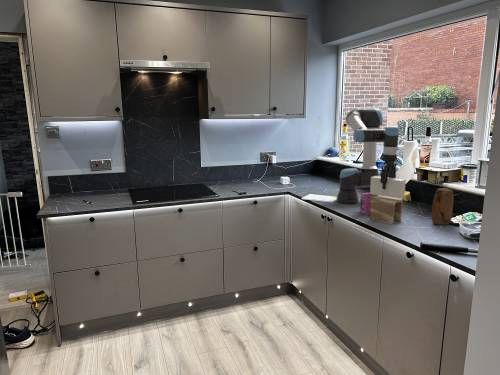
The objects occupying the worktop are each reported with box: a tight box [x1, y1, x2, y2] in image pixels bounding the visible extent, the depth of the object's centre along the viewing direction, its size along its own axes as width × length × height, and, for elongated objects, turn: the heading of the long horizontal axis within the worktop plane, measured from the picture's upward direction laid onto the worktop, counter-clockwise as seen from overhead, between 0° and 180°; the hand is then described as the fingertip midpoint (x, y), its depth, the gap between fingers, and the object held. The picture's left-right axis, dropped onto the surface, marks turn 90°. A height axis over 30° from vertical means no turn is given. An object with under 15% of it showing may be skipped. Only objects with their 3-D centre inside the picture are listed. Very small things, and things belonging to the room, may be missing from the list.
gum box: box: [359, 190, 378, 216], centre depth 236 cm, size 24×8×14 cm, turn 102°
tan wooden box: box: [369, 195, 404, 225], centre depth 219 cm, size 10×14×13 cm
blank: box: [369, 175, 407, 199], centre depth 217 cm, size 6×18×10 cm, turn 46°
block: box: [431, 187, 454, 226], centre depth 211 cm, size 11×8×20 cm
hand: (387, 193), depth 217 cm, fingers closed on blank, 6 cm apart
